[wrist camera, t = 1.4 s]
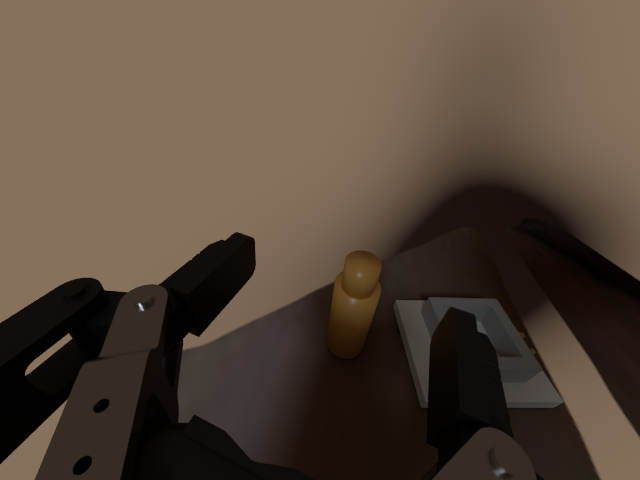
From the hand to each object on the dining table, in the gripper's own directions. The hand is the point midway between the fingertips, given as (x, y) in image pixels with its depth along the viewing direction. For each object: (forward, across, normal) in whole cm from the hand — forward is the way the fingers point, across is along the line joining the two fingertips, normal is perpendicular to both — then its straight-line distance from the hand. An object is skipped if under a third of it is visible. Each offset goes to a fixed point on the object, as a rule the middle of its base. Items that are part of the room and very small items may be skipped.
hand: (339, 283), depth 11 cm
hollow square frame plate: (+16, -14, +19) cm, 29 cm away
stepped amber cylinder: (+11, 0, +20) cm, 23 cm away
